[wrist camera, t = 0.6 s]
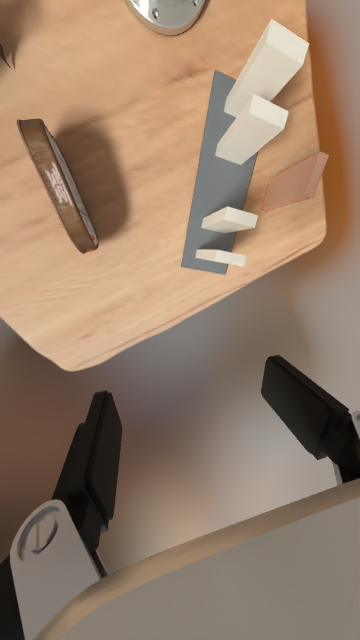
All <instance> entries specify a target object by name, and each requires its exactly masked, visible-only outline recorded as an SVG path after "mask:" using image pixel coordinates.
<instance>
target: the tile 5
mask: <svg viewBox="0 0 360 640" xmlns="http://www.w3.org/2000/svg"><path fill="white" fill-rule="evenodd" d="M308 46H309V43H307V42H306V41H304V40H303V39H301V38H300V37H298V36H297V35H295V34H294V33H292V32H291V31H289V30H288V29H286V28H285V27H283V26H282V25H280V24H278V23H277V22H275V21H274V20H272V19H271V20H270V22H269V24H268V26H267V28H266V29H265V31H264V33H263V35H262V36H261V38H260V40H259V42H258V43H257V45H256V47H255V49H254V50H253V52H252V54H251V56H250V58H249V59H248V61H247V63H246V65H245V66H244V68H243V70H242V72H241V73H240V75H239V77H238V79H237V80H236V82H235V84H234V86H233V88H232V89H231V91H230V93H229V95H228V96H227V98H226V103H225V109H224V112H225V113H227V114H230V115H232V116H234V117H236V118H237V116H238V115H239V113H240V112H241V111H242V109H243V108H244V107H245V105H246V104H247V102H248V101H249V100H250V98H251V97H252V96H253V94H255V95H257V96H259V97H261V98H263V99H265V100H267V101H269V102H271V101H272V99H273V98H274V97H275V96H276V95H277V94H278V93H279V91H280V90H281V89H282V88H283V87H284V86H285V85H286V83H287V82H288V81H289V80H290V79H291V78H292V77H293V76H294V74H295V73H296V72H297V71H298V70H299V69H300V68H301V66H302V65H303V63H304V59H305V56H306V53H307V49H308Z"/></svg>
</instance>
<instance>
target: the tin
mask: <svg viewBox="0 0 360 640" xmlns="http://www.w3.org/2000/svg"><path fill="white" fill-rule="evenodd" d="M17 126H18V129H19V132H20V135H21V138H22V140H23V143H24V145H25V147H26V149H27V151H28V154H29V156H30V158H31V160H32V162H33V164H34V166H35V168H36V170H37V172H38V175H39V177H40V179H41V181H42V183H43V185H44V187H45V189H46V191H47V194H48V196H49V198H50V200H51V202H52V204H53V206H54V208H55V210H56V213H57V215H58V217H59V219H60V221H61V223H62V225H63V227H64V229H65V231H66V233H67V234H68V236H69V238H70V239H71V241H72V242H73V244H74V245H75V247H76V248H77V249H78V250H79V251H80V252H81V253H83V254H85V253H86V252H89V251H93V250H96V249H97V248H98V246H99V244H98V240H97V237H96V234H95V231H94V228H93V226H92V223H91V221H90V218H89V216H88V213H87V211H86V208H85V205H84V203H83V200H82V198H81V196H80V193H79V191H78V188H77V186H76V184H75V181H74V179H73V176H72V174H71V172H70V169H69V167H68V165H67V163H66V161H65V158H64V156H63V154H62V152H61V150H60V148H59V146H58V144H57V142H56V141H55V139H54V138H53V136H52V135H51V134H50V132H49V131H48V129H47V128H46V126H45V124H44V122H43V120H42V119H30V120H17Z"/></svg>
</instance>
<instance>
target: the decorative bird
mask: <svg viewBox="0 0 360 640" xmlns="http://www.w3.org/2000/svg"><path fill="white" fill-rule="evenodd" d="M0 56H1V57H2V59H3V60H4V61H5V62H6V63H7V61H6V59H5V56H4V52H3V48H2V46H1V44H0ZM7 65H8V63H7ZM8 66H9V65H8ZM9 67H10V66H9ZM10 68H11V67H10Z"/></svg>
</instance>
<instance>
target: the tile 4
mask: <svg viewBox="0 0 360 640" xmlns="http://www.w3.org/2000/svg"><path fill="white" fill-rule="evenodd" d="M288 114H289V111H287V110H285V109H283V108H281V107H279V106H277V105H275V104H273V103H271V102H269V101H267V100H265V99H263V98H261V97H259V96H257V95H255V94H253V96H252V97H251V98H250V100H249V101H248V102H247V104H246V105H245V107H244V108H243V109H242V111H241V112H240V113H239V115H238V116H237V118H236V119H235V120H234V122H233V123H232V124H231V126H230V127H229V129H228V130H227V131H226V133H225V134H224V135H223V137H222V138H221V140H220V141H219V142H218V144H217V149H216V154H215V156H218V157H220V158H223V159H226V160H228V161H231V162H234V163H237V164H239V165H242V164H243V163H244V162H245V161H246V160H248V159H249V158H250V157H251V156H252V155H254V154H255V153H256V152H257V151H258V150H260V149H261V148H262V147H263V146H264V145H266V144H267V143H268V142H269V141H270V140H271V139H273V138H274V137H275V136H276V135H277V134H279V133H280V132H281V131H282V130H283V129H284V127H285V124H286V120H287V117H288Z"/></svg>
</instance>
